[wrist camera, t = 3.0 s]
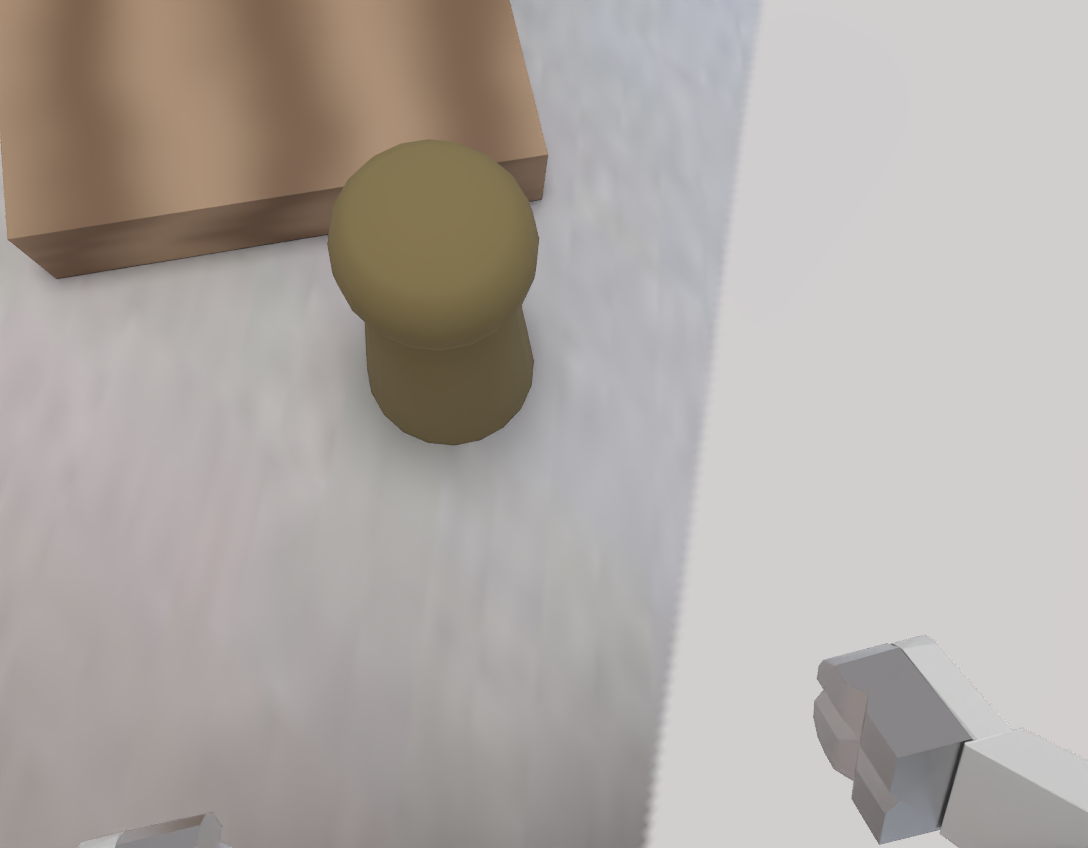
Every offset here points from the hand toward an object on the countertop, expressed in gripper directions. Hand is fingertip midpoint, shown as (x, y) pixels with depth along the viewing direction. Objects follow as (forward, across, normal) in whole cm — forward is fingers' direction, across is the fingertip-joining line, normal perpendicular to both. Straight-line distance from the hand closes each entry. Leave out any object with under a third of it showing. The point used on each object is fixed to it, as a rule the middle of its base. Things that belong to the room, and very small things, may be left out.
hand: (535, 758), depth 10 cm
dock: (+28, +4, -6) cm, 29 cm away
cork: (+20, 0, +4) cm, 20 cm away
